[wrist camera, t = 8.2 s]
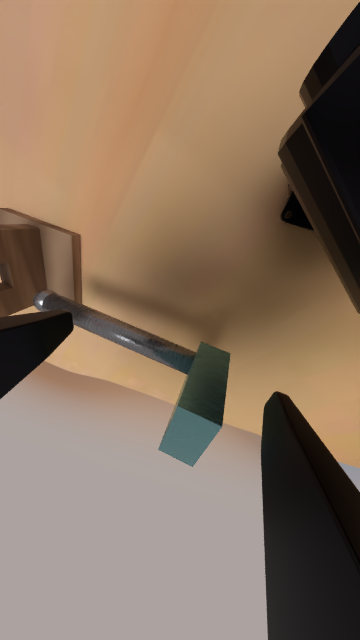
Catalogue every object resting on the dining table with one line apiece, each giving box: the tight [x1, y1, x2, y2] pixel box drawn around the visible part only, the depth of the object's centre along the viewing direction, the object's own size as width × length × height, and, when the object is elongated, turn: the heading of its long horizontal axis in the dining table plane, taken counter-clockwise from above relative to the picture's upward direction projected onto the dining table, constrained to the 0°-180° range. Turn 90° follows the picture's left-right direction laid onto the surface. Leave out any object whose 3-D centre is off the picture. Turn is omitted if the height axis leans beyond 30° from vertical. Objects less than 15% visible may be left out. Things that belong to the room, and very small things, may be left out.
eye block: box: [0, 208, 82, 317], centre depth 20 cm, size 10×10×10 cm
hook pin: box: [33, 289, 230, 467], centre depth 15 cm, size 18×5×7 cm, turn 74°
